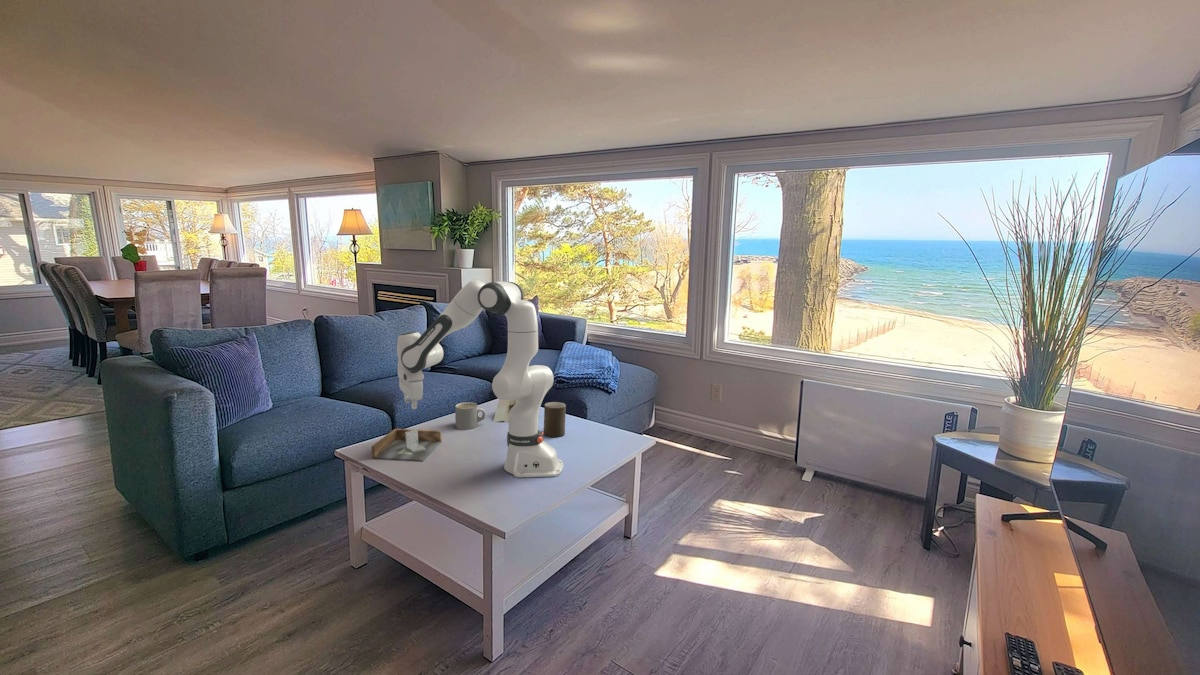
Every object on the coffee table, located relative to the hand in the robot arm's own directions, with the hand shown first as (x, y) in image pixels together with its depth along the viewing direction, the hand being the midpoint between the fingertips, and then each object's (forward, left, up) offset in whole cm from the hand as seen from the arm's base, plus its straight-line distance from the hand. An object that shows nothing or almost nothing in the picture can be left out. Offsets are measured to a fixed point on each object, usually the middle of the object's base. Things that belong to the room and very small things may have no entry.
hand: (410, 405), depth 201 cm
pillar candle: (-55, -26, -19) cm, 64 cm away
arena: (+1, +1, -19) cm, 19 cm away
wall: (-31, -44, -19) cm, 57 cm away
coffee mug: (-15, -30, -19) cm, 39 cm away
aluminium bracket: (-2, +2, -18) cm, 18 cm away
